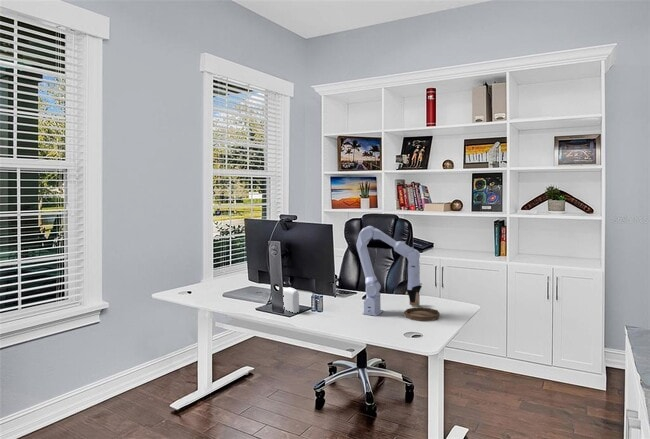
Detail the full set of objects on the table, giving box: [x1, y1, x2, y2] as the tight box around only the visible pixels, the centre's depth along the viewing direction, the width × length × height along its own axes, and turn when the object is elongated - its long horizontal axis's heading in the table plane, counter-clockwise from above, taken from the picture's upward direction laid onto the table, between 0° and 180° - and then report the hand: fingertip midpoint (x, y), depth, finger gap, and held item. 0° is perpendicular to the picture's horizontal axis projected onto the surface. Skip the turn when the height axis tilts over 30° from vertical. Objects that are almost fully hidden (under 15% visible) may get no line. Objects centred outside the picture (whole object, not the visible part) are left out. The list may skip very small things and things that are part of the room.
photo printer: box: [282, 286, 300, 314], centre depth 240 cm, size 10×4×12 cm, turn 39°
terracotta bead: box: [409, 292, 418, 306], centre depth 228 cm, size 4×4×6 cm
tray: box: [404, 306, 440, 322], centre depth 227 cm, size 16×16×2 cm
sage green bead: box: [411, 294, 421, 308], centre depth 245 cm, size 4×4×6 cm
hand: (413, 301), depth 228 cm, fingers closed on terracotta bead, 4 cm apart
